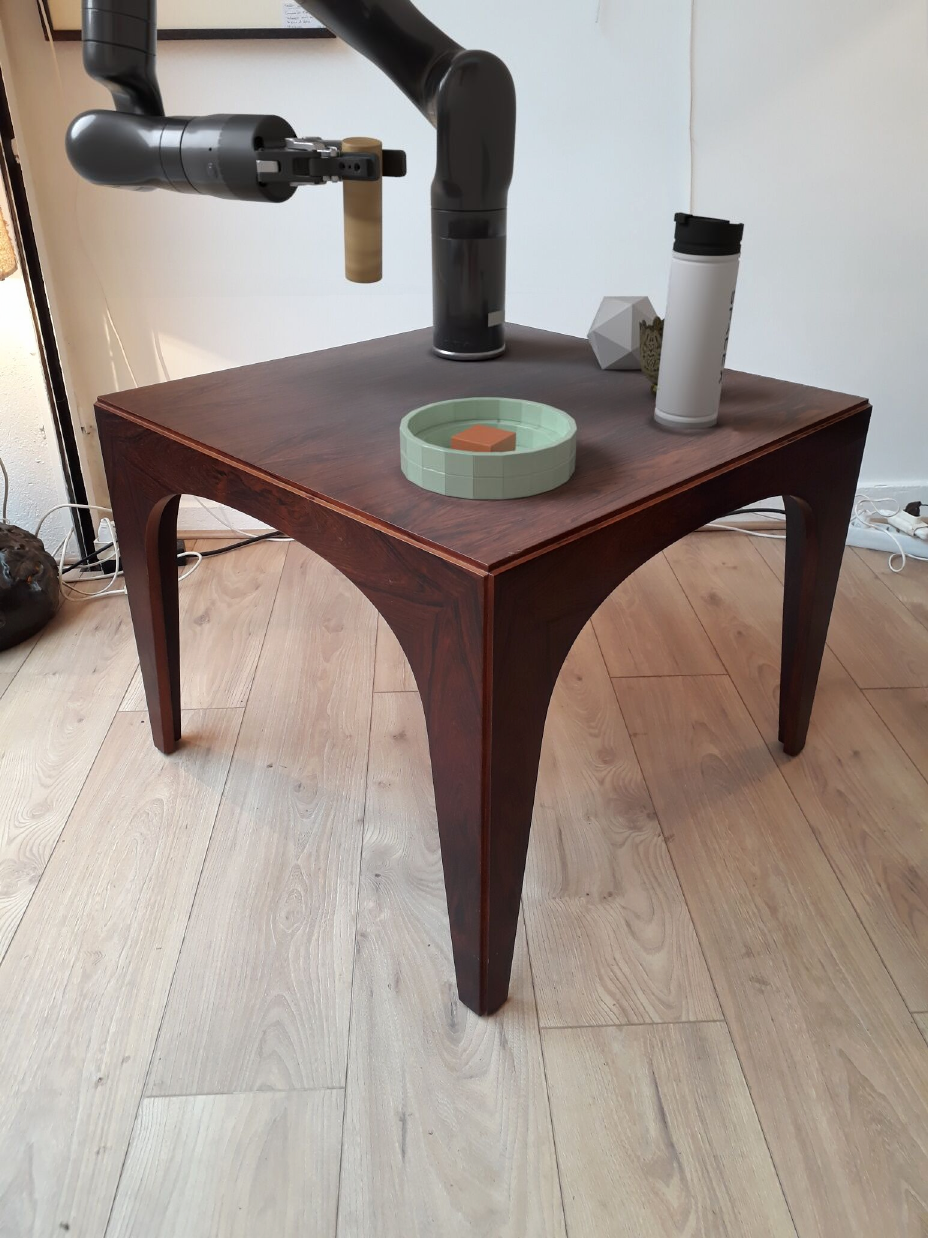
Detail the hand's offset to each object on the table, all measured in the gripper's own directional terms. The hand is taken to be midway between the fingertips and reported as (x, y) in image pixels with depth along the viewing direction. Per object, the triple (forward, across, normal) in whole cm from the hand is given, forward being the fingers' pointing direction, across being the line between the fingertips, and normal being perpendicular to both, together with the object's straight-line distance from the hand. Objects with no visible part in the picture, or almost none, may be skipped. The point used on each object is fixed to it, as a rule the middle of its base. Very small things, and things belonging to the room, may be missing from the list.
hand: (390, 165), depth 81 cm
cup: (+21, +22, +24) cm, 39 cm away
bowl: (+14, -7, +24) cm, 28 cm away
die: (+12, +32, +24) cm, 42 cm away
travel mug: (+25, +14, +24) cm, 38 cm away
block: (+15, -10, +23) cm, 29 cm away
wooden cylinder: (-4, +1, +10) cm, 11 cm away
